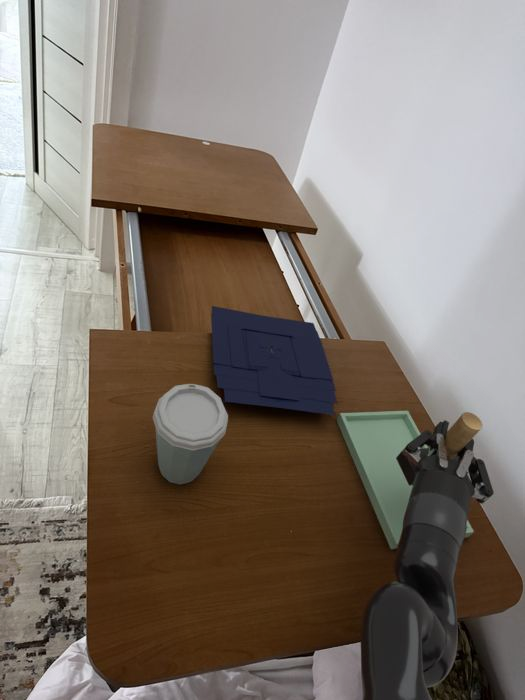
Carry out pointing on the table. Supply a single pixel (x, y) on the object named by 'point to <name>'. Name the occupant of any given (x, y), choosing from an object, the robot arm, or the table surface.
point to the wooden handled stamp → (447, 443)
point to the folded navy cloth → (271, 362)
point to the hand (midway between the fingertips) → (455, 431)
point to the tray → (382, 463)
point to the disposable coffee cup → (187, 430)
